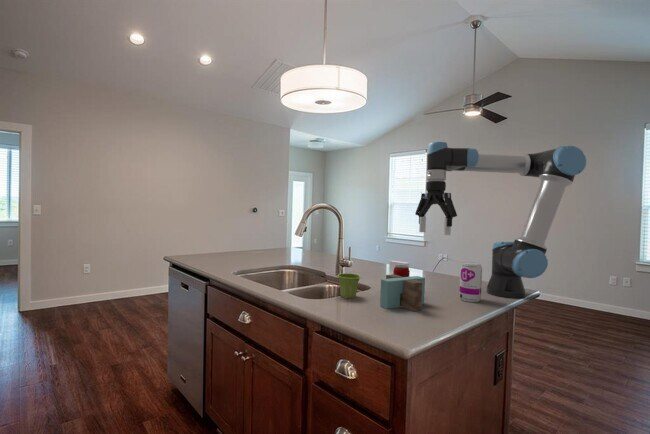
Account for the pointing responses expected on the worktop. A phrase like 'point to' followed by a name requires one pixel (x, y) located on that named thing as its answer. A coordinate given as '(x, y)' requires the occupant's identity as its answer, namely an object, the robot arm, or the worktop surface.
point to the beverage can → (401, 270)
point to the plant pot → (348, 284)
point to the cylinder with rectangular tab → (394, 263)
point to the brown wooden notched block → (410, 294)
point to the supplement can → (470, 281)
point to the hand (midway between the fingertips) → (434, 233)
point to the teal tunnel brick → (396, 290)
